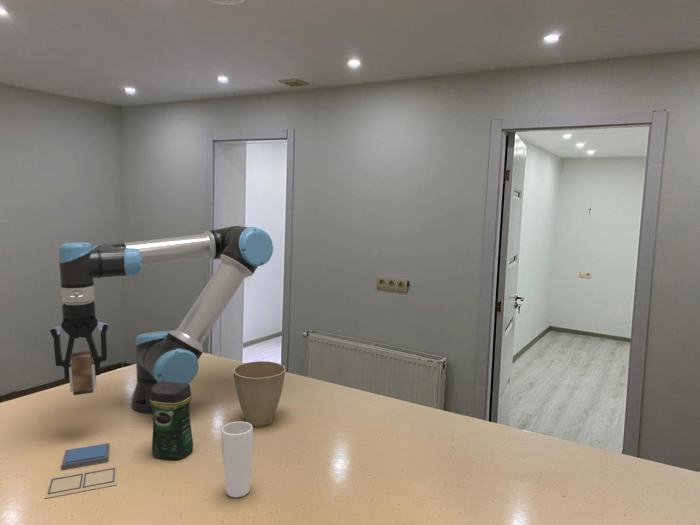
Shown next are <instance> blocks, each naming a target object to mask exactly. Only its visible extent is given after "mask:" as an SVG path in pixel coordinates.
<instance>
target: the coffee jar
mask: <svg viewBox="0 0 700 525" xmlns="http://www.w3.org/2000/svg"><path fill="white" fill-rule="evenodd" d="M191 400H192V391H191V385H190V383H175V382H165V381H160V382H158V383H156V384H155V385H153V386H152V388H151V394H150V403H151V405H152V409H153V413H152V422H153V424H152V440H151V441H152V443H151V445H152V446H151V453H152V455H153V456H154V457H156V458H160V459H165V460H178V459H182V458H184V457H187V456H188V455H190V453H192V451H193V449H194V440H193V433H192V426H191V425H192V423H191V417H190V416H191V415H190V403H191Z"/></svg>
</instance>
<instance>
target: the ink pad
mask: <svg viewBox="0 0 700 525" xmlns="http://www.w3.org/2000/svg"><path fill="white" fill-rule="evenodd" d="M110 448H111V447H110V443H109V442H108V443H107V442H106V443H101V444H97V445H89V446H84V447H77V448H70V449H66V450H65V452H64V455H63V459H62V463H61V470H62V471H63V470H70V469H75V468H76V469H77V468H81V467H88V466H92V465H93V466H94V465H99V464H105V463H109V460H110V458H109V457H110Z"/></svg>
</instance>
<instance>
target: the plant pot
mask: <svg viewBox="0 0 700 525" xmlns="http://www.w3.org/2000/svg"><path fill="white" fill-rule="evenodd" d="M232 374H233V379H234V386H235V389H236V390H235V391H236V395H237V398H238V402H239V405H240V408H241V411H242V414H243V417H244V419H245V422H247V423H250V424H251V425H252V427H257V428H259V427H260V428H261V427H265V426H268V425H270V424H271V423H272V422H273V420H274V417H275V415H276V413H277V412H276V411H277V409H278V406H279V402H280V399H281V395H282V391H283V386H284V381H285V374H286V367H285V365H283V364H281V363H278V362H274V361H266V360H265V361H264V360H261V361H260V360H258V361H257V360H256V361H250V362H244V363H242V364H239V365H237V366H236V367H234V368H233V370H232Z"/></svg>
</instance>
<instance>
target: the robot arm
mask: <svg viewBox="0 0 700 525" xmlns="http://www.w3.org/2000/svg"><path fill="white" fill-rule="evenodd" d="M273 251H274V246H273V241H272V238H271V235H269V233H268V232H266V231H265V230H264V229H262V228H258V227H256V226H241V225H231V226H227V227H222V228H217V229H210V230H205V231H204V232H203V233H202V234H193V235H184V236H176V237H166V238H160V239H159V238H156V239H149V240H137V241H131V242H122V243H113V244H111V243H110V244H108V243H101V244H97V245H95V246H93V247H92V244H91V243H90V242H86V241H85V242H84V241H82V242H80V241H79V242H66V243H62V244H61V245H60V246H59V250H58V253H59V254H58V255H59V256H58V258H59V260H58V263H59V264H58V265H59V274H60V275H59V277H60V279H59V280H60V292H61V294H60V295H61V302H63V304H62V305H61V308H62V309H61V310H62V321H61V324H60V325H58V326H53V327H51V329H50V331H49V332H50V334H51V337H52V338H53V346H54V347H53V349H54V360H55V365H56V366H57V367H62V368H63V371H64V372H63V374H64V378H65V380H69V392H71V393H73V381H72V365H71V357H72V354H73V349H74V344H75V340H76V339H78V338H83V339H84V338H85V339H86V340H85V341H87V345H88V347H89V348H88V349H89V351H91V354H92V365H91V366H92V383H93V390H95V389H97V376H100V375H101V363H102V362H106V361H107V360H108V359H107V358H108V349H107V348H108V347H107V346H108V345H107V342H108V341H107V330H108V328H109V323H108V322H100V321H99V320H98V319H97V317H96V303H95V302H94V300H95V285H94V282H95V279H101V278H112V277H114V278H115V277H130V276H134V275H138V274H140V273H141V272H142V267H143V266H151V265H159V264H167V263H173V262H182V261H189V260H190V261H191V260H197V259H203V258H207V259H208V260H220V264H219V265H218V267H217V268H216V270H215V271H214V273H213V275H212V276H211V277H210V279H209V280H208V282H206V283H207V284H206V285H205V287H204V288H203V290H202V291H201V293H200V294H199V295H198V297H197V298H196V301H195V302H194V303H193V304H192V306H191V307H190V309H189V311H188V312H187V313H186V315H185V316H184V318H183V319H182V321H181V322H180V324H179V326H178V327H177V328H176V329H174V330H157V331H151V332H144V333H140V334H139V335H137V336H136V338H135V345H134V347H135V360H136V362H135V364H136V365H135V366H136V368H135V369H136V384H135V388H134V391H133V393H132V394H133V395H132V398H131V408H132V409H133V410H134V411H135V412H139V413H145V414H146V413H148V414H150V413H152V414H153V409H152V405H151V403H150V394H151V388H152V386H153V385H155V384H156V383H158V382H160V381H165V382H175V383H188V384H190V383H191V382H192V381H193V380H194V379H195V377H196V376H197V373H198V372H199V367H200V366H199V359H200V358H201V356H202V354H203V353H204V347H203V344H204V342H205V340H206V339H207V337H208V336H209V334H210V333H211V331H212V329H213V328H214V326H215V325H216V323H217V322H218V320H219V319H220V317H221V316H222V314H223V312H224V311H225V309H226V308H227V306H228V305H229V303H230V301H231V300H232V298H233V296H234V295H236V292H237V291H238V289H239V287H240V286H241V284H242V283H243V281H244V280H245V279H246V278H247V277H252V276H253V274H255V272H256V270H257V269H258V267H262V266H264V265H266V264H267V263H269V261H270V260H271V258H272V256H273ZM96 328H98V331H99V332H100V348H101V350H100V351H101V355H99V352H98V349H97V347H96V346H97V345H96V343H95V340H94V337H93V331H95V329H96ZM62 330H63V331H64V332H65V333H66V334H67V335H68V343H67V348H66V353H65V357H64V359H63V356H62V343H61V334H62Z"/></svg>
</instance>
